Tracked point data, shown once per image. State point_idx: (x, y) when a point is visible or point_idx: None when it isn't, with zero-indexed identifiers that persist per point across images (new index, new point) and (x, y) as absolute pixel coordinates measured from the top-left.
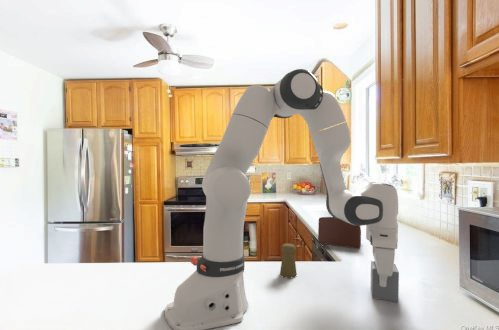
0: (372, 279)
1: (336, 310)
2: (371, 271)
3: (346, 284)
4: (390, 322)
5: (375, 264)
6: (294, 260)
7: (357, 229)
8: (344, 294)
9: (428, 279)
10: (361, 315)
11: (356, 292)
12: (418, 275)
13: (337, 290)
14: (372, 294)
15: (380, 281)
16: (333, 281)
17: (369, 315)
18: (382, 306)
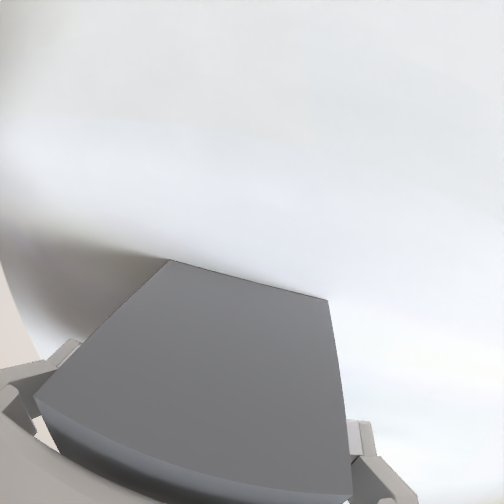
0: (102, 326)
1: (31, 52)
2: (222, 394)
3: (372, 126)
4: (8, 259)
5: (203, 493)
6: None
7: None
8: (183, 75)
9: None
10: (11, 156)
11: (232, 169)
12: (430, 486)
13: (242, 34)
14: (161, 270)
15: (52, 359)
16: (405, 42)
17: (17, 191)
18: (93, 280)
